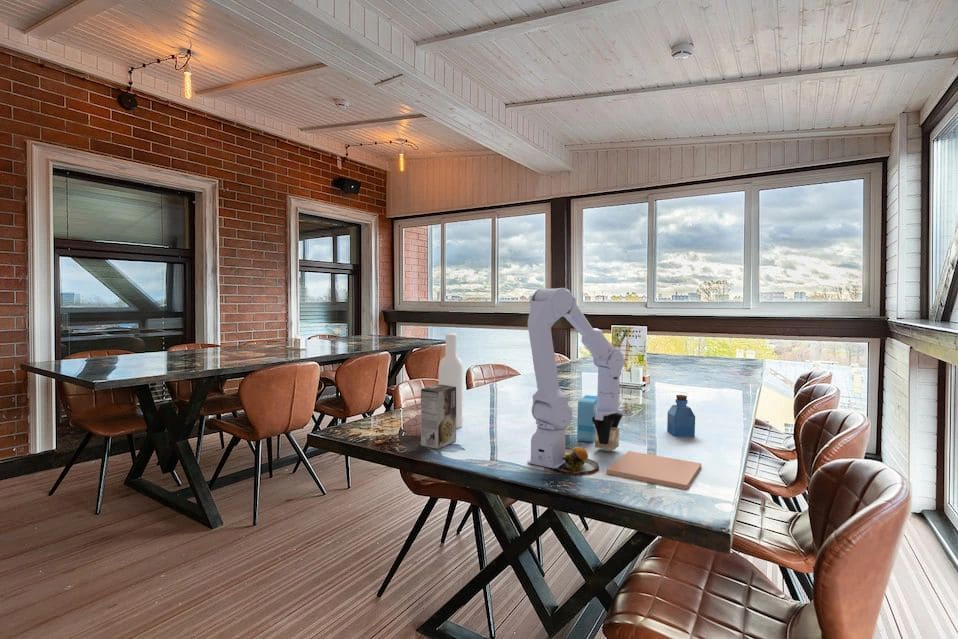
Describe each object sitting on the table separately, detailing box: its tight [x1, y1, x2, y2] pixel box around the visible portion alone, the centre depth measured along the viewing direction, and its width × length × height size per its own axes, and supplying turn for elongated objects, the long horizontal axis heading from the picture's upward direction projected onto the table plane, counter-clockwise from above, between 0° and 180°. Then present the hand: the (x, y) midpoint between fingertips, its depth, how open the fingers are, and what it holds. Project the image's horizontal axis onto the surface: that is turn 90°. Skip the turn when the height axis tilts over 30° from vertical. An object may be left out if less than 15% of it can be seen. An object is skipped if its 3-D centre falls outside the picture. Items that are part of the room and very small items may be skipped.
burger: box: [555, 446, 600, 476], centre depth 124 cm, size 12×12×8 cm
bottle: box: [438, 333, 464, 430], centre depth 163 cm, size 8×8×30 cm
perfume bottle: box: [666, 394, 696, 438], centre depth 157 cm, size 6×6×12 cm
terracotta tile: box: [606, 450, 702, 490], centre depth 123 cm, size 18×18×1 cm
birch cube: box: [594, 427, 620, 451], centre depth 138 cm, size 5×5×5 cm
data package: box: [576, 394, 597, 443], centre depth 151 cm, size 12×4×12 cm, turn 156°
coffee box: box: [420, 384, 457, 450], centre depth 143 cm, size 9×6×16 cm
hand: (606, 441), depth 138 cm, fingers closed on birch cube, 5 cm apart
